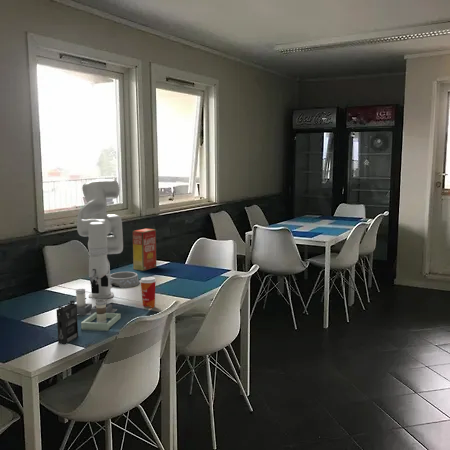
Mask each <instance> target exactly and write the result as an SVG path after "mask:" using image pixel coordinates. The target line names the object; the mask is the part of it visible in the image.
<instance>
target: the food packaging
mask: <svg viewBox="0 0 450 450" xmlns="http://www.w3.org/2000/svg"><path fill="white" fill-rule="evenodd" d="M132 259H133V260H132V263H133V264H132V265H133V268H132V270H134V271H135V270H137V271H141V272H145V271H148V270H151V269H155V268H157V230H156V228H155V229H154V228H146V227H145V228H142V229H136V230H132Z"/></svg>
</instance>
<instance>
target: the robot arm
mask: <svg viewBox="0 0 450 450" xmlns="http://www.w3.org/2000/svg"><path fill="white" fill-rule="evenodd" d="M81 189H82V193H83V197H84V198H85V200H86V202H87V203H86V204H85V205H83V206H82V208H80V210H79V211H78V214H77V219H76V228H77V229H76V230H77V234H78V235H79V236H81V237H88V240H87V241H88V242H87V248H88V253H89V255H88V256H89V261H88V277H89V282H90V288H91V293H89V295H88V298H89V299H97V300H101V299H103V300H107V299H110V298H113V297H114V295H115V293H114V292H113V291H112V290H111V289H112V288H113V284H112V285H110V274H111V270H110V269H111V267H110V265H111V264H110V261H109V259H108V255H118V254H121V253H122V252H123V250H124V236H123V235H124V234H123V221H122V220H123V219H122V217H121V215H118V214H108V213H107V205H108V204H107V199H108V200H111V199H113V200H114V199H118V197H120V185H119V183H118V181H117V180H115V179H95V180H92V181H89V182H88V181H87V182H85V183H83V185H82V188H81ZM110 234H112V235H110Z"/></svg>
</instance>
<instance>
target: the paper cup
mask: <svg viewBox="0 0 450 450" xmlns="http://www.w3.org/2000/svg"><path fill="white" fill-rule="evenodd" d="M139 282H140V291H141V301H142V306H143V307H146V308H147V307H149V309H153V308H155V305H156V282H157V280H156V277H154V276H145V277H141V278H140V280H139Z"/></svg>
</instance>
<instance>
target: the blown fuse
mask: <svg viewBox="0 0 450 450" xmlns="http://www.w3.org/2000/svg"><path fill="white" fill-rule="evenodd" d="M106 301H107V299H97V300H96V301H95V305H96V313H97V318H96V323H108V321H107V318H106V303H107V302H106Z"/></svg>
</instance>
